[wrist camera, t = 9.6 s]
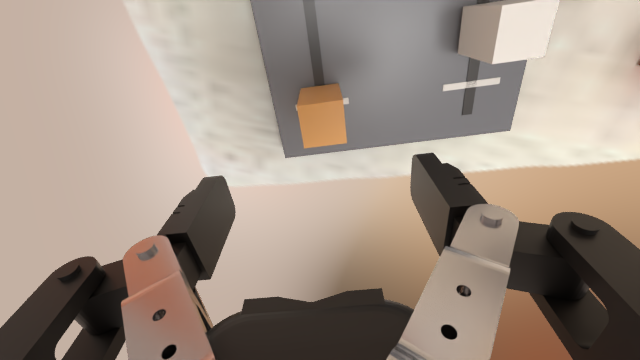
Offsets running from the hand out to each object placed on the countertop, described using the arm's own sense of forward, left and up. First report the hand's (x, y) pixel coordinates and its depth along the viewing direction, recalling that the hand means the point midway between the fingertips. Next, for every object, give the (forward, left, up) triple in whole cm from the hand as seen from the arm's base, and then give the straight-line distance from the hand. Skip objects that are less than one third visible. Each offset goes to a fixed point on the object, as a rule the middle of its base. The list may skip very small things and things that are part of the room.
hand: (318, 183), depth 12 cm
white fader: (-4, +12, -12) cm, 18 cm away
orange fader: (0, 0, -12) cm, 12 cm away
